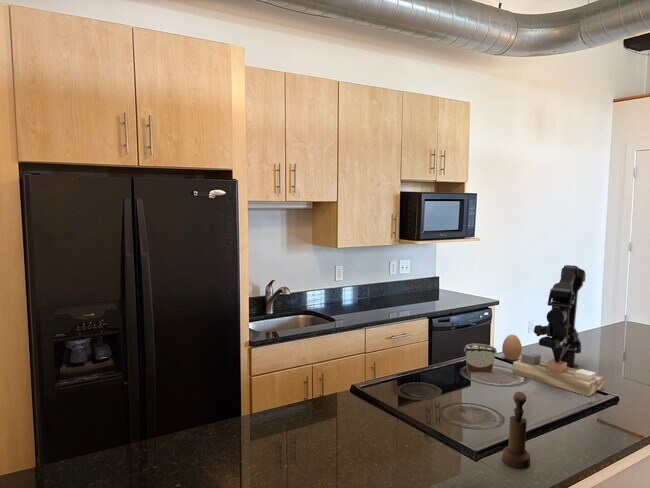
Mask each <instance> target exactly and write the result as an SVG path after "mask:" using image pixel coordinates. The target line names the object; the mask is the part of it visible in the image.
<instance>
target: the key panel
mask: <svg viewBox="0 0 650 488" xmlns="http://www.w3.org/2000/svg"><path fill="white" fill-rule="evenodd" d="M521 360H522V358H521V359H517V360H514V361H513V362H512V371H511V372H512V373H513V374H512V373H511V374H512V375H515V374H516V375H517V376H518V377H519V376H520V377H521V378H525V377H526V378H525V379H528V378H529V380H532V381H535V380H536V381H535V382H538V381H540V382H539V383H541V382H543V383H542V384H545V383H547V384H546V385H548V384H550V385H549V386H551V385H554V386H557V387H556V388H558V387H560V388H559V389H561V388H563V389H562V390H564V389H566V390H565V391H567V390H569V391H568V392H571V391H572V392H571V393H574V392H576V393H575V394H577V393H580V394H584V395H588V396H589V395H591V394H592V393H594V392H596V391H597V390H601V391H602V390H604V379H605V377H604V376H603V375H598V374H596V375H595V379H594V380H592V381H587V380H583V379H580V378H576V377H574V376H575V371H577V370H578V369H576V368H569V367H567V370H566V371H564V372H562V373H559V372H555V371H552V370H548V369H547V361H548V360H547V361H546V360H542V359H540V363H538V364H535V365H532V364H528V363H525V362H521ZM516 375H515V376H516ZM554 386H553V387H554ZM580 394H579V395H580ZM584 395H583V396H584ZM591 396H592V395H591Z"/></svg>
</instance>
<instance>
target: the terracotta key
mask: <svg viewBox="0 0 650 488" xmlns="http://www.w3.org/2000/svg"><path fill="white" fill-rule="evenodd" d="M547 369H548V370H552V371H555V372H559V373H562V372H564V371H566V370H567V362H563V361H559V362H555V358H553V359H550V360H547Z"/></svg>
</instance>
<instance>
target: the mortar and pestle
mask: <svg viewBox="0 0 650 488" xmlns="http://www.w3.org/2000/svg"><path fill="white" fill-rule="evenodd" d="M512 399H513V401H514V404H515V408H514V409H513V412H514V415H511V416H509V428H508V446H505V447H504V448H503V449H502V457H501V459H502V461H503V463H504V464H506V465H507V466H509V467H512V468H515V469H526V468H528V467H530V465H531V454H530V453H529V452H528V451H527V450H526V440H527V438H526V437H527V422H528V420H527V419H526V418H525V417H523V416H524V412H525V410H524V409H523V406H524V405H525V403H526V401H527V395H526V394H525V393H524V392H521V391H515V392H514V394H513V398H512Z"/></svg>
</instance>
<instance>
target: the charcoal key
mask: <svg viewBox="0 0 650 488" xmlns="http://www.w3.org/2000/svg"><path fill="white" fill-rule="evenodd" d="M541 356H542V355H541V354H538V353H535V352H530V351H526V352H524V353H521V359H522V360H521V362H525V363H528V364H532V365H535V364H538V363H540V360H542V359H541Z"/></svg>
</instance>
